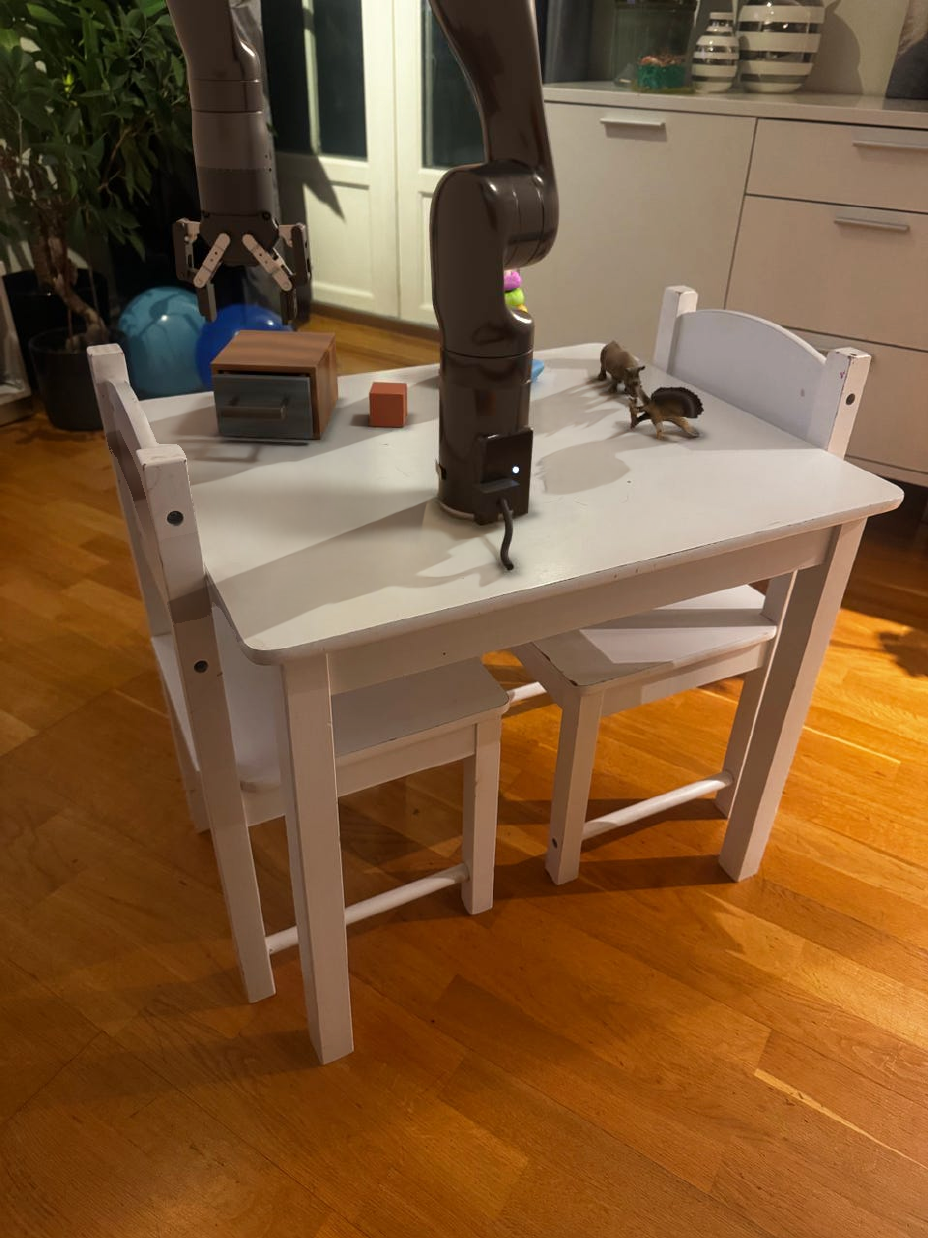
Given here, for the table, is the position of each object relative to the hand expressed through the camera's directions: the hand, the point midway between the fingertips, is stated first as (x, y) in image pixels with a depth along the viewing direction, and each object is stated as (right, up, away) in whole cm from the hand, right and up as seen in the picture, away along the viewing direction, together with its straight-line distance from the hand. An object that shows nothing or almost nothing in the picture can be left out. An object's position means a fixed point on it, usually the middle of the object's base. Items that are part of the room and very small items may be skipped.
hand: (249, 322), depth 102 cm
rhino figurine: (+46, -1, +29) cm, 55 cm away
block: (+14, -7, +17) cm, 23 cm away
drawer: (0, -9, +13) cm, 15 cm away
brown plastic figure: (+49, -9, +16) cm, 53 cm away
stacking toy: (+28, +2, +32) cm, 42 cm away
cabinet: (0, -7, +18) cm, 19 cm away
